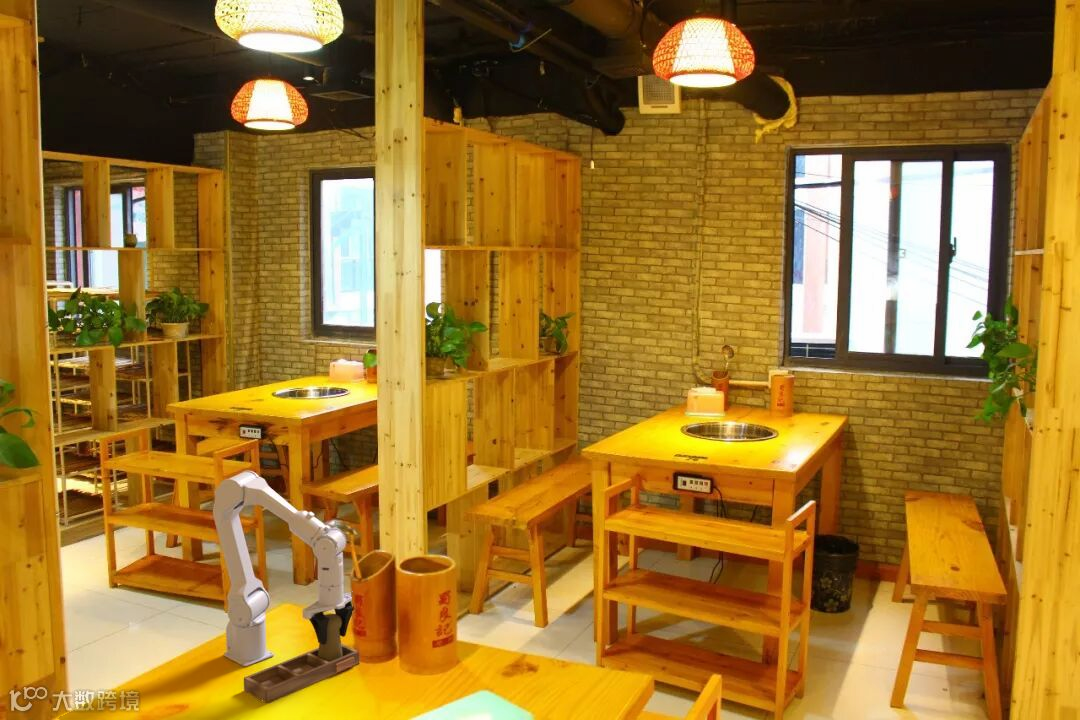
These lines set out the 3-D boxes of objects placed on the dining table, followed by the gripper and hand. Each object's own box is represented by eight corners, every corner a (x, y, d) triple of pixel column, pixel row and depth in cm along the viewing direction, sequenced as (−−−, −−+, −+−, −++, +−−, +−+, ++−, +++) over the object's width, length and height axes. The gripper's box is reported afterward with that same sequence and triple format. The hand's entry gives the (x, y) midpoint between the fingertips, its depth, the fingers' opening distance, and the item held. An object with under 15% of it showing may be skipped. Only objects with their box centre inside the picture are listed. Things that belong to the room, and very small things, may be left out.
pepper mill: (337, 667, 207) (337, 621, 206) (312, 665, 208) (312, 619, 207) (347, 657, 213) (347, 611, 212) (322, 654, 214) (322, 609, 213)
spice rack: (244, 690, 198) (243, 677, 198) (335, 653, 217) (335, 641, 217) (269, 704, 192) (268, 691, 192) (361, 664, 211) (360, 652, 211)
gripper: (315, 595, 200) (316, 654, 202) (366, 578, 211) (367, 633, 213) (296, 588, 205) (297, 645, 206) (347, 571, 216) (348, 626, 217)
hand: (331, 639), depth 210 cm, fingers closed on pepper mill, 5 cm apart
